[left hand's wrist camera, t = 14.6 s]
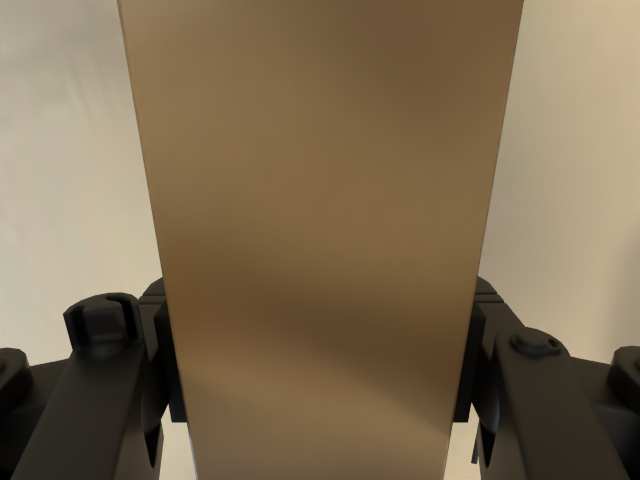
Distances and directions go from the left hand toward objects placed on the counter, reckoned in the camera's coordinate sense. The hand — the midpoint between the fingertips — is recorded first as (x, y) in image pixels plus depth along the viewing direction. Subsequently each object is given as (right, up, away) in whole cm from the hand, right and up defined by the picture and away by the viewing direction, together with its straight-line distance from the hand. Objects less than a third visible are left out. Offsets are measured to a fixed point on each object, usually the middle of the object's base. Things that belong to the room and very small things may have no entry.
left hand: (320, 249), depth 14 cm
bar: (0, +18, -7) cm, 19 cm away
